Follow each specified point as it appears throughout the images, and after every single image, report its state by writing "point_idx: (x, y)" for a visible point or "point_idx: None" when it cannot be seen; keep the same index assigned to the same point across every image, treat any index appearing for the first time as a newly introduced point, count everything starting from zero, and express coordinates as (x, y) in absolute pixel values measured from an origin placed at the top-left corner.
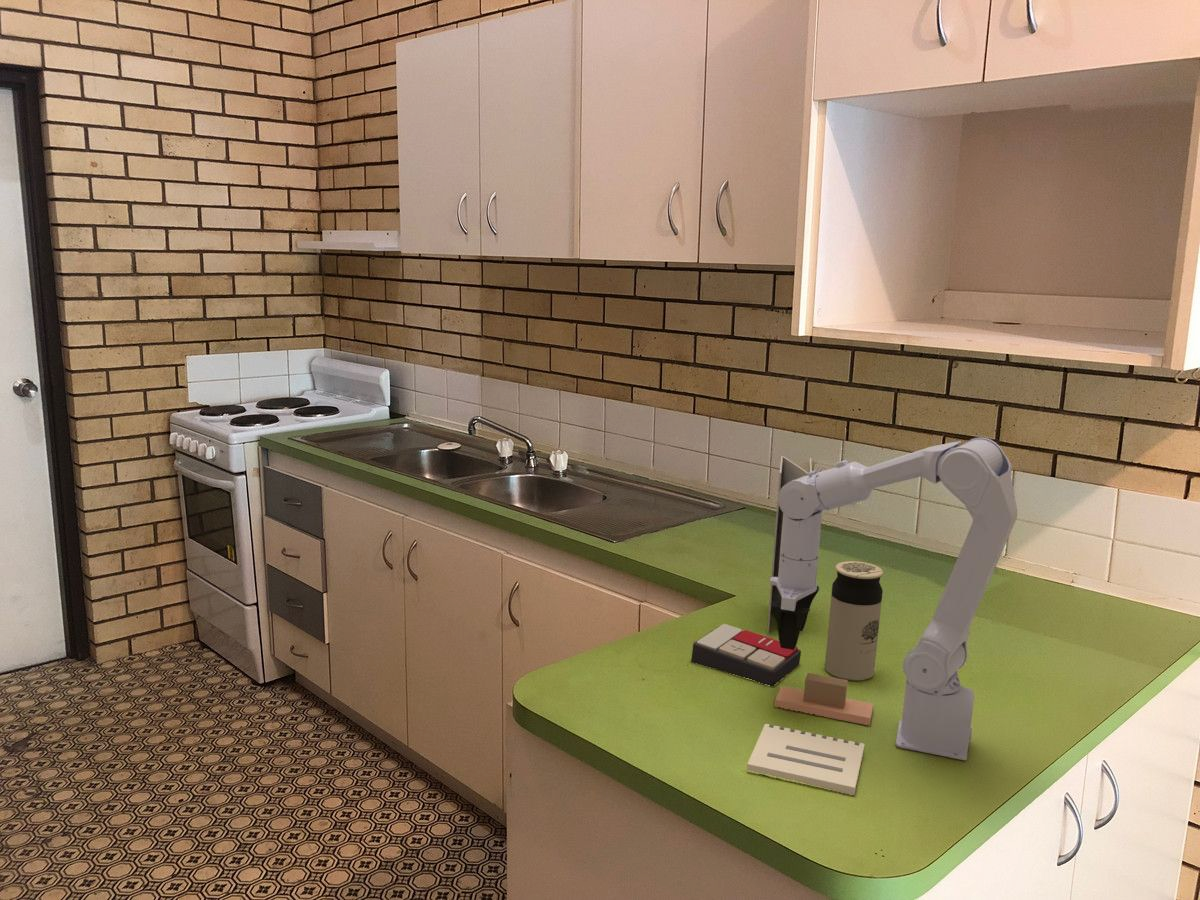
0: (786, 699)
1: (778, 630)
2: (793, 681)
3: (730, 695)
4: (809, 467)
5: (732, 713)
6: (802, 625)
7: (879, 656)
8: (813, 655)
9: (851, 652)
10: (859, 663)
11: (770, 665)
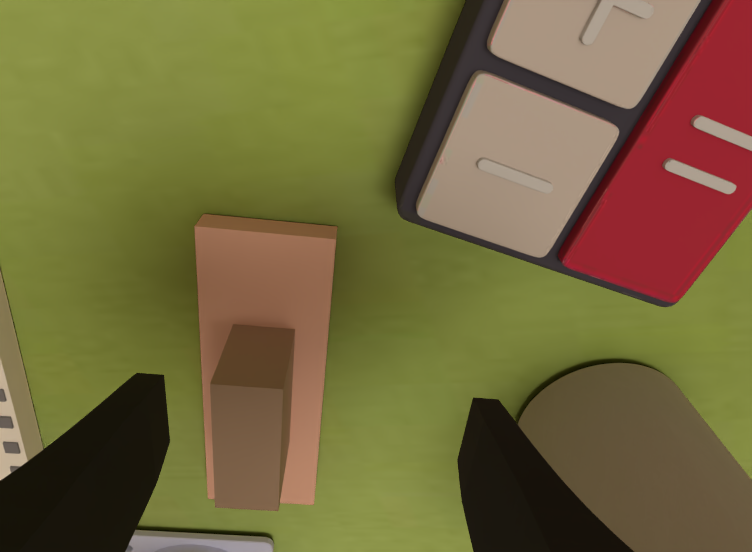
0: (217, 266)
1: (35, 455)
2: (469, 262)
3: (232, 4)
4: None
5: (55, 38)
6: (464, 492)
7: None
8: (731, 318)
9: None
10: None
11: (429, 201)
